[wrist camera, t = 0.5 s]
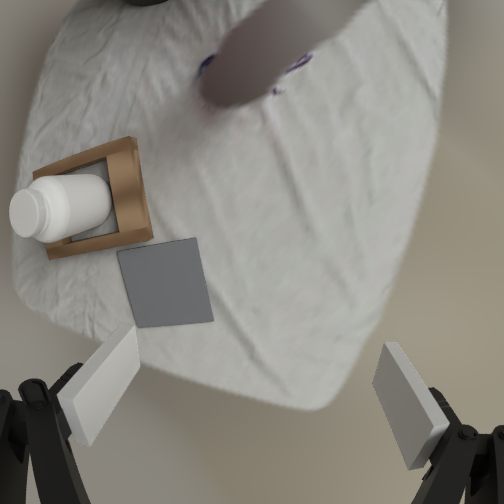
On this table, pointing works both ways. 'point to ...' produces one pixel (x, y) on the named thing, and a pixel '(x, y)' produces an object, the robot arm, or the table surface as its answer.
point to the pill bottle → (60, 206)
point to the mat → (166, 284)
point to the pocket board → (123, 191)
